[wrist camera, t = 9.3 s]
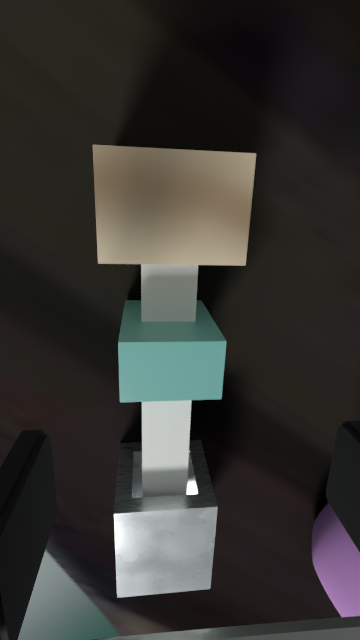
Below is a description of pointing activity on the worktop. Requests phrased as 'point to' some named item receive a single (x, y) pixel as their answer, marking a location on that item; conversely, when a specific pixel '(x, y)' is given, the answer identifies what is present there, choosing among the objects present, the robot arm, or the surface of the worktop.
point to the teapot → (336, 562)
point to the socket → (172, 205)
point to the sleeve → (163, 529)
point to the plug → (168, 369)
